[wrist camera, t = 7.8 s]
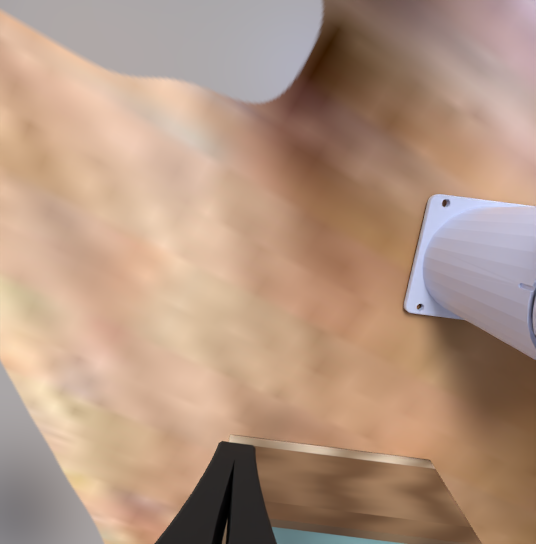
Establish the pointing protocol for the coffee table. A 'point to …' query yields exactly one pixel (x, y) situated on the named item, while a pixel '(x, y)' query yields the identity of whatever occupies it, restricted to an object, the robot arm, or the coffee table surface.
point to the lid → (318, 538)
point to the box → (356, 494)
